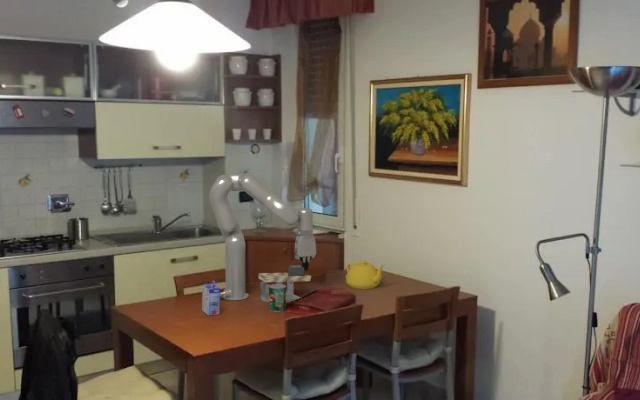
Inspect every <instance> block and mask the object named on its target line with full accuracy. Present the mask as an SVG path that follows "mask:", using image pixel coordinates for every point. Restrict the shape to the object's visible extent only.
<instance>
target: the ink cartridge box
mask: <svg viewBox="0 0 640 400" xmlns="http://www.w3.org/2000/svg"><path fill="white" fill-rule="evenodd" d="M215 284H216V281H215V280H214V279H212V280H211V282H210V283H209V284H208V283H207V284H206V283H205V284H202V292H201V293H202V299H201V302H202V303H201V306H202V307H201V311H202V312H203V313H205V314H206V315H207V316H208V317H211V316H219V315H220V312H221V311H220V309H221V308H220V307H221V306H220V305H221V304H220V303H221V302H220V300H221V299H220V298H221V296H220V292H221V288H220V287H219V286H217V285H215Z"/></svg>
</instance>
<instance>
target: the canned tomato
mask: <svg viewBox="0 0 640 400" xmlns="http://www.w3.org/2000/svg"><path fill="white" fill-rule="evenodd" d="M286 291H287V284H286V285H285V284H276V283H273V284H269V302H268V310H269V311H270V312H276V313H280V312H281V311H282V312H284V311H283V310H284V308H285V307H286V308H287V302H286ZM282 312H281V313H282Z"/></svg>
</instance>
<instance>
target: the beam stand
mask: <svg viewBox="0 0 640 400" xmlns="http://www.w3.org/2000/svg"><path fill="white" fill-rule="evenodd" d="M283 283H284V282H275V284H283ZM269 285H270V283H269V282H264V281H260V300H261V301H263V302H265V303H269ZM283 285H284V284H283ZM299 298H301V297H300V296H298V295H296V294H294V282H293V280H287V282H286V303H292V302H291V301H293V302H295V301H294V300H296V299H299Z"/></svg>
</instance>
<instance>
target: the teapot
mask: <svg viewBox="0 0 640 400" xmlns="http://www.w3.org/2000/svg"><path fill="white" fill-rule="evenodd" d="M384 266H385V264H381V265H379V266H378V268H376V267H375V265H374V264H373V263H369V262H367V260H366V259H361V260H359V262H355V263H353V262H351V263H348V264H347V265H346V273H347V274H346V275H345V282H346V284H347V285H348V286H349V287H350V288H351V289H355V290H370V289H375V288H377V287H378V285H380V282H381V280H382V278H383V277H382V276H383V274H382V273H383V271H382V270H383V267H384Z"/></svg>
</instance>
